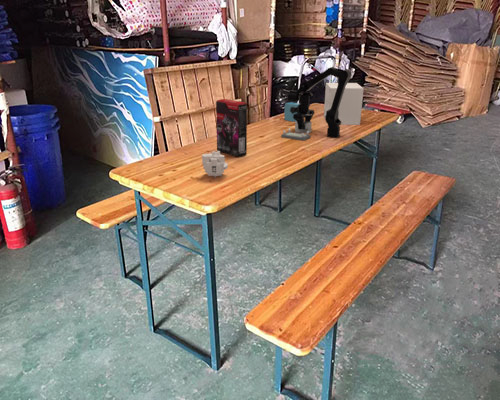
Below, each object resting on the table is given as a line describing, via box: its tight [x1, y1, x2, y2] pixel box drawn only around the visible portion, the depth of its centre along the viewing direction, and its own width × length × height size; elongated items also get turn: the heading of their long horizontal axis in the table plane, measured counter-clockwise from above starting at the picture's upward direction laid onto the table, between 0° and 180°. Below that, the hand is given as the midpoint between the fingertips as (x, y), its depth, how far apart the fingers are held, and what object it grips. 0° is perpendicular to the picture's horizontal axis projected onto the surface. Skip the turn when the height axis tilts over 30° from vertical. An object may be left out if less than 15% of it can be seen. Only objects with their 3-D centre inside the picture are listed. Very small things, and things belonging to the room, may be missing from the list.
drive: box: [294, 120, 312, 134], centre depth 274 cm, size 9×5×7 cm, turn 58°
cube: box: [323, 82, 365, 126], centre depth 302 cm, size 25×21×24 cm
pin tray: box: [280, 127, 312, 142], centre depth 263 cm, size 15×9×4 cm, turn 58°
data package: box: [283, 101, 300, 123], centre depth 303 cm, size 12×4×12 cm, turn 51°
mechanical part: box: [201, 150, 229, 179], centre depth 197 cm, size 11×12×12 cm
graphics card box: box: [215, 98, 248, 158], centre depth 227 cm, size 17×7×27 cm, turn 46°
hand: (303, 127), depth 274 cm, fingers open, 9 cm apart
